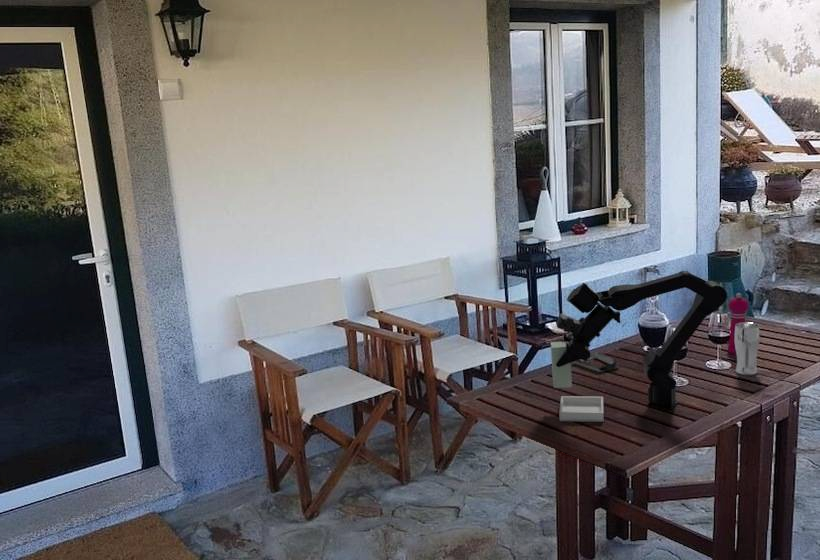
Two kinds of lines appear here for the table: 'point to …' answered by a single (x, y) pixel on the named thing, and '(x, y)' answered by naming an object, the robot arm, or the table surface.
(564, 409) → the tray
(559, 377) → the handle block
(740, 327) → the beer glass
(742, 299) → the pepper mill
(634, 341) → the table surface
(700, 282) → the robot arm
